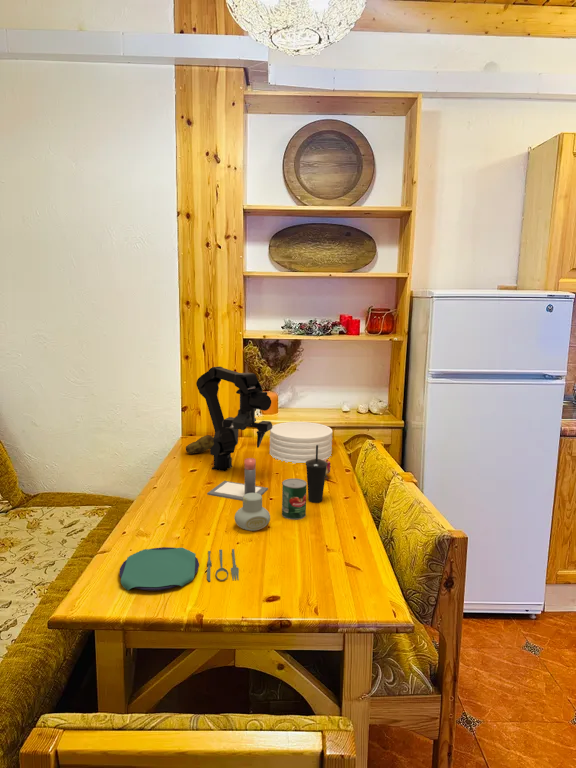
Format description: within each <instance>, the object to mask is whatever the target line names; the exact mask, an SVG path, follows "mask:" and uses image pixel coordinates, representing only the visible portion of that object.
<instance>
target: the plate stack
mask: <svg viewBox="0 0 576 768" xmlns="http://www.w3.org/2000/svg"><path fill="white" fill-rule="evenodd" d="M269 433H270V434H269V455H271V456H272V458H273V459H274V458H275V460H277V459H278V460H277V461H279V460H281V461H280V462H283V461H285V462H284V463H288V462H292V463H291V464H296V463H306V461H308V460H311V459H316V445H318V459H321V460H325V459H328V458H329V457H330V456H331V457H332V455H331V454H333V453H332V451H333V447H332V445H333V441H332V440H333V429H332V428H331V427H329V426H328V425H325V424H322V423H318V422H310V421H288V422H281V423H280V422H279V423H276V424H274V425H273V424H272V429H271V430H269ZM331 457H330V458H331ZM330 458H329V459H330ZM329 459H328V460H329Z"/></svg>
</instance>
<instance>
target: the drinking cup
mask: <svg viewBox="0 0 576 768" xmlns="http://www.w3.org/2000/svg"><path fill="white" fill-rule="evenodd" d="M327 462H328V461H327ZM327 462H326V461H323V460H321V459H318V445H316V459H311V460H308V461H306V464H305V465H306V480H307V481H306V483H307V499H308V502H310V503H314V504H319V503H322V501H323V496H324V488H325V482H326V478H325V475H326V467H327V465H328V463H327Z"/></svg>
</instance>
